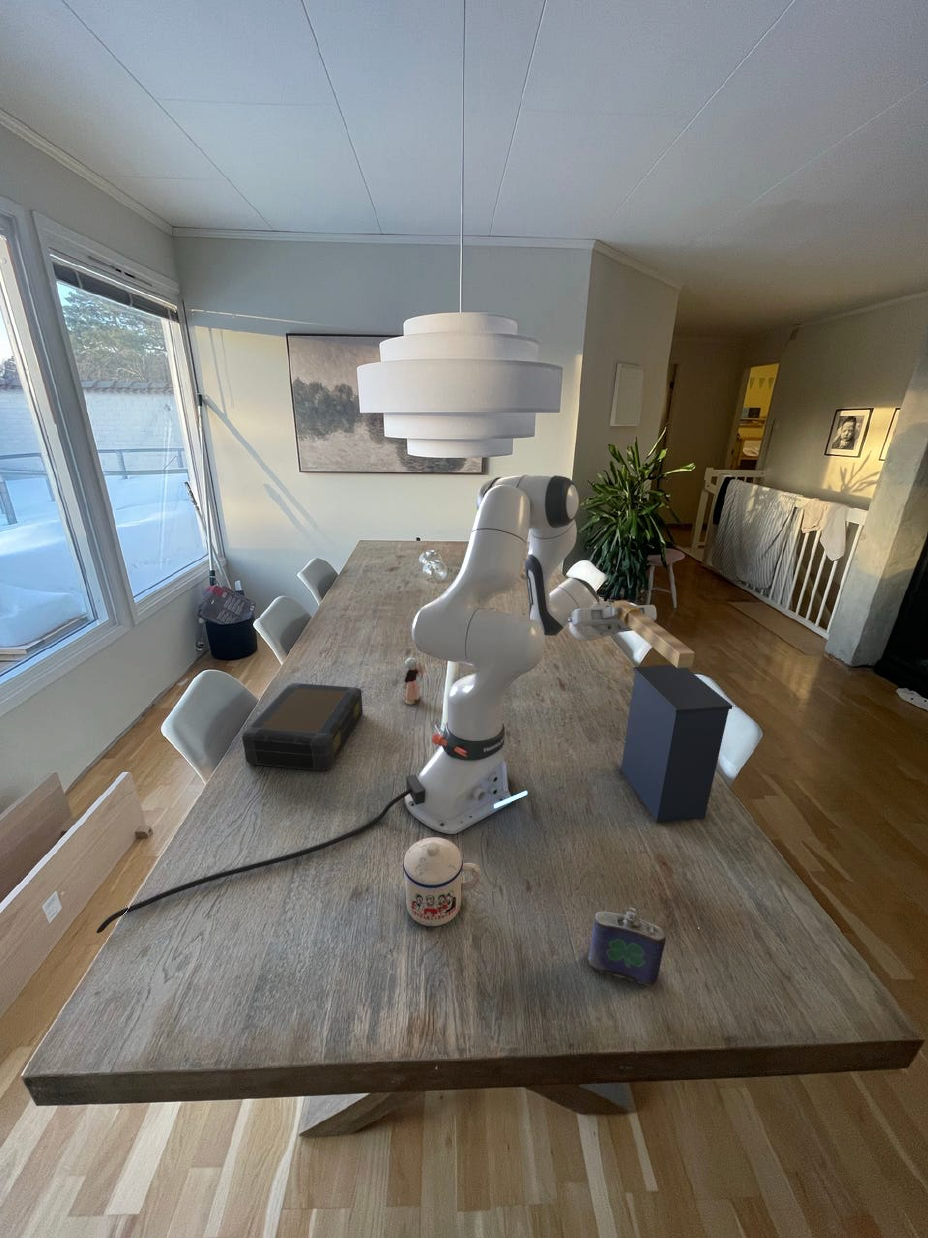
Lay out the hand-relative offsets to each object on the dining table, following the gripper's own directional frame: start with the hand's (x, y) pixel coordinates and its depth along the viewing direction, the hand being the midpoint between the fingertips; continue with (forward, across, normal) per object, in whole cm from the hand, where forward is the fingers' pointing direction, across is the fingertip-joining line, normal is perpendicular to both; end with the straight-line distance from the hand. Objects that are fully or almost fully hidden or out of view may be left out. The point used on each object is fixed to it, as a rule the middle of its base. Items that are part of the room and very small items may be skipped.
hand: (626, 610), depth 117 cm
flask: (+35, -24, +56) cm, 70 cm away
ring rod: (+8, 0, +7) cm, 11 cm away
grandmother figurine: (-33, -49, +17) cm, 61 cm away
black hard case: (-20, -75, +24) cm, 81 cm away
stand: (+6, 0, +39) cm, 40 cm away
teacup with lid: (+23, -47, +49) cm, 72 cm away
